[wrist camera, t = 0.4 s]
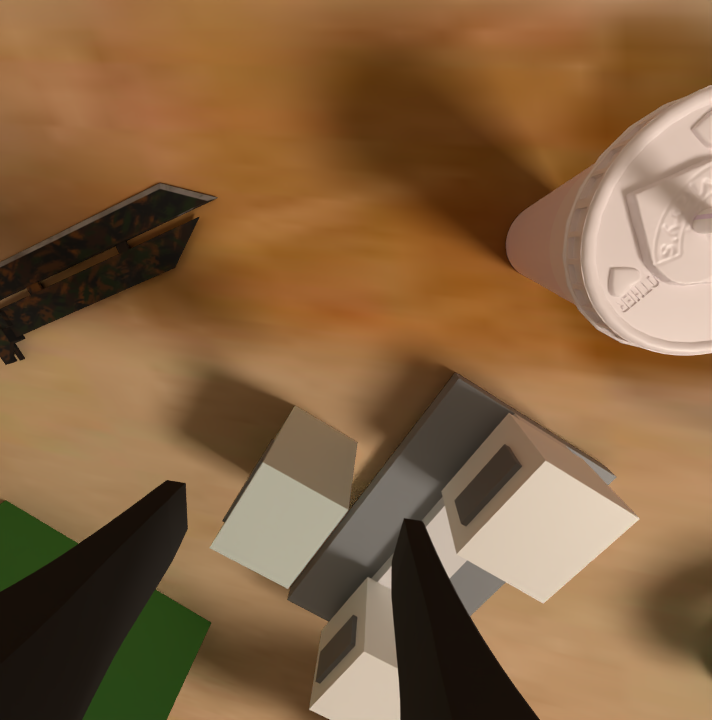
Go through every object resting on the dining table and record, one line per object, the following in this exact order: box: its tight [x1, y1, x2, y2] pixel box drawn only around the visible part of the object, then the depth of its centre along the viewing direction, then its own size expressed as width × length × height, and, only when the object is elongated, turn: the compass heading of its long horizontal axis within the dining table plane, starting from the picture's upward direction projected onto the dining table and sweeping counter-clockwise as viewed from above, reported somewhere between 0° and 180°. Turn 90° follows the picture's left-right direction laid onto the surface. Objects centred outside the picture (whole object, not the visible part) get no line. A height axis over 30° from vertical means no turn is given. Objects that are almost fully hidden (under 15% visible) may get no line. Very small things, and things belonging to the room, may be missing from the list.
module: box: [210, 406, 357, 589], centre depth 20 cm, size 6×5×6 cm
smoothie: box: [506, 85, 712, 355], centre depth 11 cm, size 6×6×14 cm
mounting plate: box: [287, 372, 640, 720], centre depth 20 cm, size 20×11×6 cm, turn 148°
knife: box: [0, 183, 217, 365], centre depth 20 cm, size 25×6×1 cm, turn 106°
